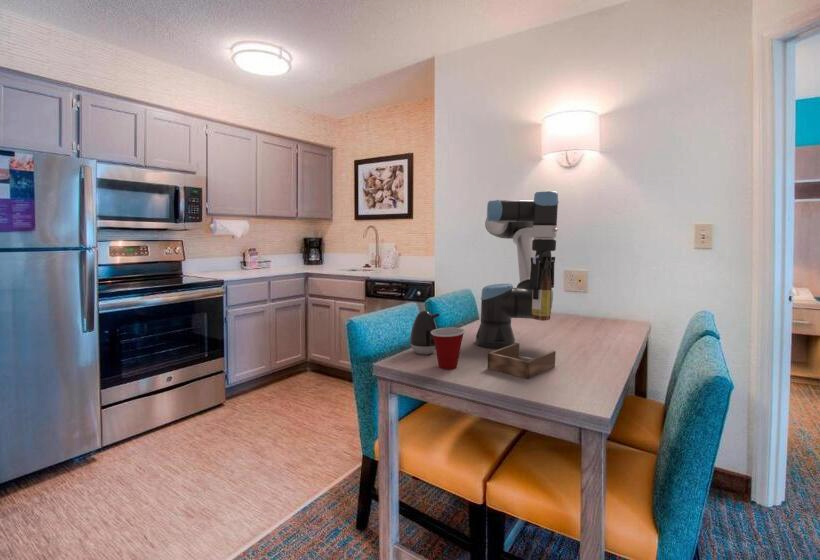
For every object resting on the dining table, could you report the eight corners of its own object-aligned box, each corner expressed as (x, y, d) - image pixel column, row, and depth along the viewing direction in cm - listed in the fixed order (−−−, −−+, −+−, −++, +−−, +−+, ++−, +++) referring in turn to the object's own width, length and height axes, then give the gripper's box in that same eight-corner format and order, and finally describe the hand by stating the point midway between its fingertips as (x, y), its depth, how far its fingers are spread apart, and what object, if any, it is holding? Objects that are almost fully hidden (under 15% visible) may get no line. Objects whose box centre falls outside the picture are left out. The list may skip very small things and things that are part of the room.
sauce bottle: (536, 316, 146) (539, 259, 144) (553, 319, 141) (556, 260, 140) (527, 319, 141) (530, 260, 139) (544, 321, 137) (547, 261, 135)
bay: (487, 368, 133) (487, 352, 132) (516, 356, 146) (516, 342, 145) (527, 379, 123) (528, 362, 123) (554, 365, 136) (555, 350, 136)
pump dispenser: (439, 356, 145) (440, 313, 143) (409, 356, 145) (409, 313, 144) (438, 349, 155) (439, 308, 153) (410, 348, 155) (410, 308, 154)
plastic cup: (428, 361, 139) (429, 326, 138) (460, 361, 140) (461, 326, 138) (431, 372, 128) (432, 334, 127) (466, 372, 129) (467, 334, 128)
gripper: (542, 238, 129) (538, 312, 131) (566, 239, 143) (563, 306, 145) (519, 238, 134) (517, 309, 136) (545, 238, 148) (543, 303, 150)
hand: (541, 307), depth 141 cm, fingers closed on sauce bottle, 6 cm apart
